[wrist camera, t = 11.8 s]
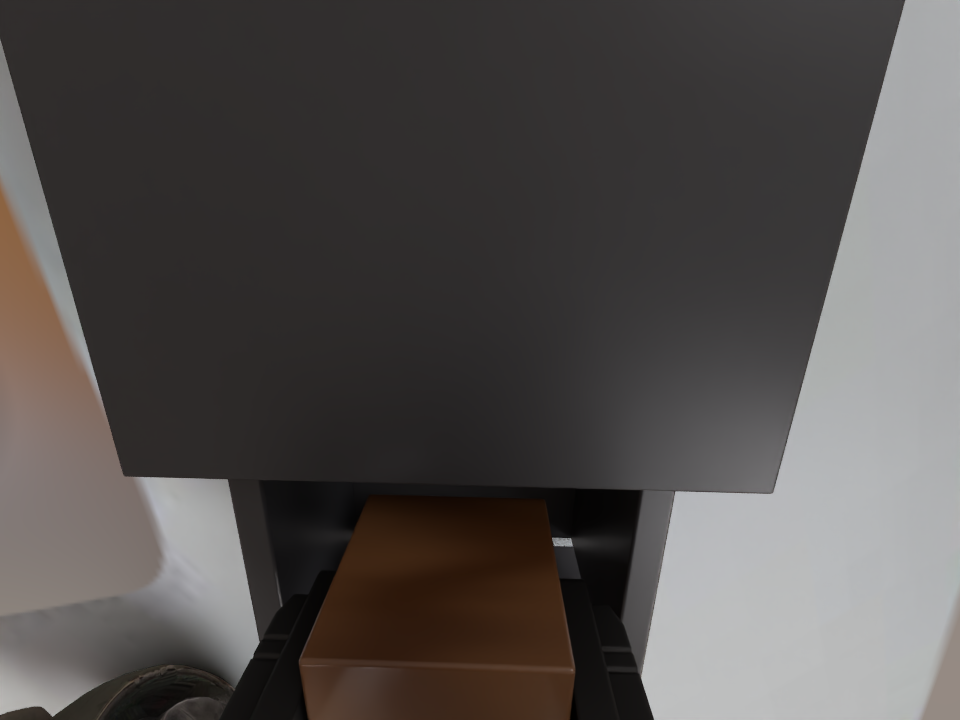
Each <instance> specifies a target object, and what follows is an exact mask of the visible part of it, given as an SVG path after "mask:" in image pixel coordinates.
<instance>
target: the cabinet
mask: <svg viewBox="0 0 960 720" xmlns="http://www.w3.org/2000/svg"><path fill="white" fill-rule="evenodd" d="M904 2H905V0H0V39H1V43H2V46H3V50H4V53H5V57H6V60H7V64H8V67H9V71H10V75H11V78H12V82H13V85H14V89H15V92H16V96H17V99H18V103H19V106H20V110H21V114H22V117H23V121H24V124H25V128H26V131H27V135H28V138H29V142H30V145H31V149H32V153H33V156H34V160H35V163H36V167H37V170H38V174H39V177H40V181H41V184H42V188H43V192H44V195H45V199H46V202H47V206H48V209H49V213H50V216H51V220H52V223H53V227H54V230H55V234H56V238H57V241H58V245H59V248H60V252H61V255H62V259H63V262H64V266H65V269H66V273H67V277H68V280H69V284H70V287H71V291H72V294H73V298H74V301H75V305H76V308H77V312H78V316H79V319H80V323H81V326H82V330H83V333H84V337H85V340H86V344H87V347H88V351H89V355H90V358H91V362H92V365H93V369H94V372H95V376H96V379H97V383H98V386H99V390H100V394H101V397H102V401H103V404H104V408H105V411H106V415H107V418H108V422H109V425H110V429H111V432H112V436H113V440H114V443H115V447H116V450H117V454H118V457H119V461H120V464H121V468H122V471H123V474H124V476H131V477H168V478H205V479H242V480H280V481H317V482H354V483H391V484H428V485H466V486H503V487H540V488H577V489H614V490H652V491H689V492H726V493H763V494H771V493H773V491H774V487H775V484H776V480H777V476H778V472H779V469H780V465H781V461H782V458H783V454H784V450H785V446H786V443H787V439H788V435H789V431H790V428H791V424H792V420H793V416H794V413H795V409H796V405H797V402H798V398H799V394H800V390H801V387H802V383H803V379H804V375H805V372H806V368H807V364H808V361H809V357H810V353H811V349H812V346H813V342H814V338H815V334H816V331H817V327H818V323H819V319H820V316H821V312H822V308H823V305H824V301H825V297H826V293H827V290H828V286H829V282H830V278H831V275H832V271H833V267H834V264H835V260H836V256H837V252H838V249H839V245H840V241H841V237H842V234H843V230H844V226H845V222H846V219H847V215H848V211H849V208H850V204H851V200H852V196H853V193H854V189H855V185H856V181H857V178H858V174H859V170H860V167H861V163H862V159H863V155H864V152H865V148H866V144H867V140H868V137H869V133H870V129H871V125H872V122H873V118H874V114H875V111H876V107H877V103H878V99H879V96H880V92H881V88H882V84H883V81H884V77H885V73H886V70H887V66H888V62H889V58H890V55H891V51H892V47H893V43H894V40H895V36H896V32H897V28H898V25H899V21H900V17H901V14H902V10H903V6H904Z"/></svg>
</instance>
